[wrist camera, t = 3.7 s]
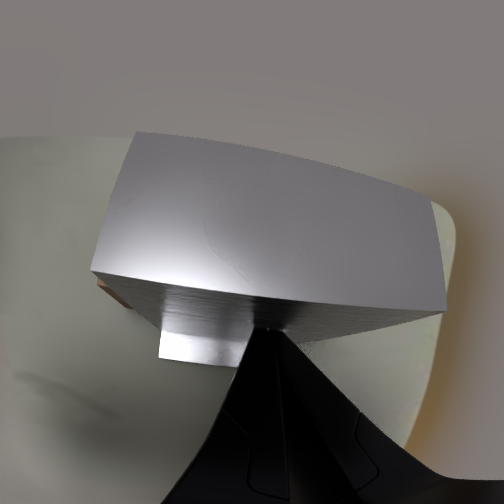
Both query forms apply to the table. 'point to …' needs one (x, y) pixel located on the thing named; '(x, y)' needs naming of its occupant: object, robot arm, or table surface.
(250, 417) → the robot arm
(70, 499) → the table surface
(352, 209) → the angle bracket
